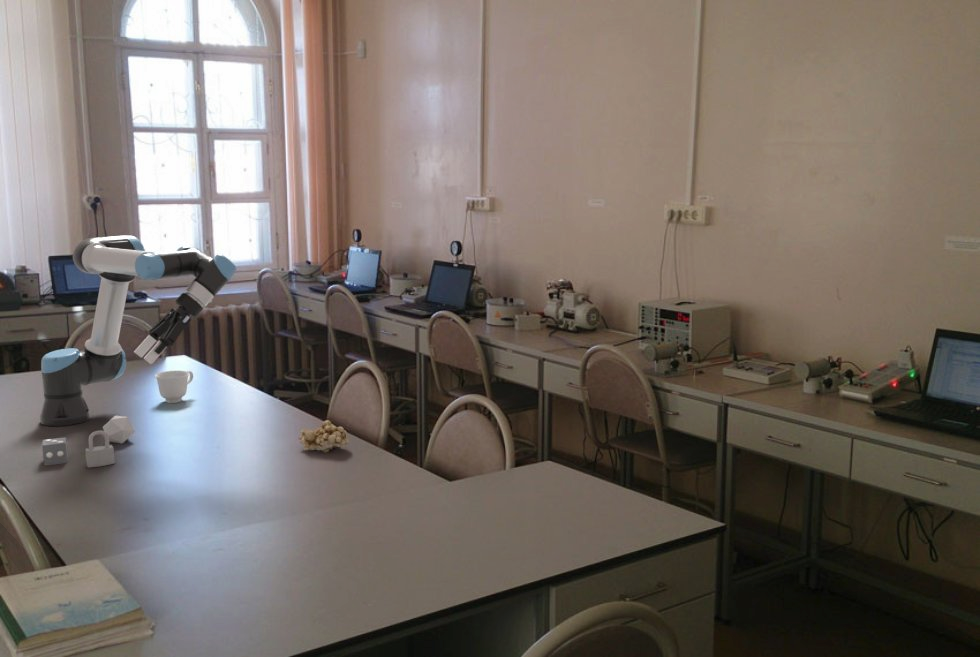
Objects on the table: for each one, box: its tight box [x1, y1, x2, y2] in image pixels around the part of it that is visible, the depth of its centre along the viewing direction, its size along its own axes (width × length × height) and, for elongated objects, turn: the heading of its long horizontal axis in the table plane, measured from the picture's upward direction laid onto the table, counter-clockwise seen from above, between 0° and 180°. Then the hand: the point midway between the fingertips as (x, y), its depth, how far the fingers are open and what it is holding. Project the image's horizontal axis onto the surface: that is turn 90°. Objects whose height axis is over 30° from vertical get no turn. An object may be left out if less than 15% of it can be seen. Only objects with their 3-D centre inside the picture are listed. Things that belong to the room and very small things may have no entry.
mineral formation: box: [298, 420, 349, 453], centre depth 271 cm, size 8×13×15 cm
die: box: [102, 415, 136, 444], centre depth 280 cm, size 8×9×10 cm
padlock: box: [84, 430, 116, 469], centre depth 258 cm, size 7×4×10 cm, turn 121°
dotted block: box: [41, 437, 68, 466], centre depth 261 cm, size 6×6×6 cm
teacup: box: [154, 370, 194, 404], centre depth 330 cm, size 12×15×10 cm
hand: (142, 358), depth 261 cm, fingers open, 11 cm apart
